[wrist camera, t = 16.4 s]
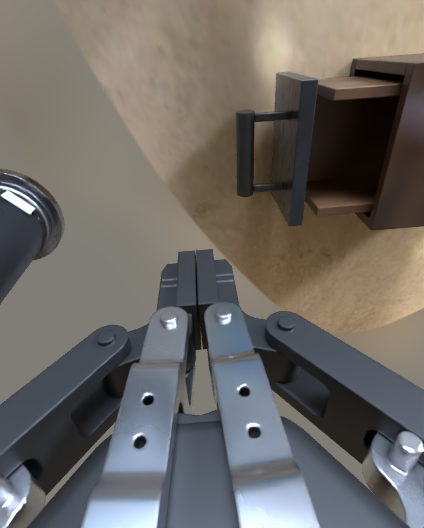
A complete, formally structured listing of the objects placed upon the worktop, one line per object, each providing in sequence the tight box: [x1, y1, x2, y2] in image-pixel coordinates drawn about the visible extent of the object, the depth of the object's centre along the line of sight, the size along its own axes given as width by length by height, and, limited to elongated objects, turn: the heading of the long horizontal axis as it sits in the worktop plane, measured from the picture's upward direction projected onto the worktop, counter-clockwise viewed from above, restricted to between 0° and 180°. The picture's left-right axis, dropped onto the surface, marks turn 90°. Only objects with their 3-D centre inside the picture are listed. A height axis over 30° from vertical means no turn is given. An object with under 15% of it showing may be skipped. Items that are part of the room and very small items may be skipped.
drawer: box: [236, 72, 405, 226], centre depth 28 cm, size 17×11×8 cm
